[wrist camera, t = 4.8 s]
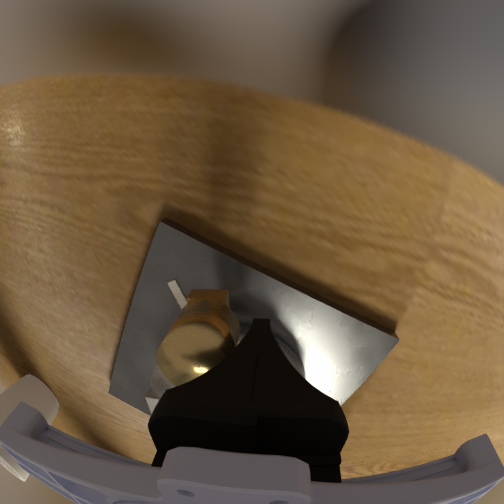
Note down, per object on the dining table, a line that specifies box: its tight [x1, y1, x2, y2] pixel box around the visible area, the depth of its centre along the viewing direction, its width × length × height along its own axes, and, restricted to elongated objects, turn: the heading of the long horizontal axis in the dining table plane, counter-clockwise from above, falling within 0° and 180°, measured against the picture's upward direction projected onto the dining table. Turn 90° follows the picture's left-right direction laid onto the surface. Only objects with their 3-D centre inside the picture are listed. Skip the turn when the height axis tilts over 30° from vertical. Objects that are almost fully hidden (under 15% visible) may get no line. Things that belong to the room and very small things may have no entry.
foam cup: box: [0, 374, 60, 482], centre depth 19 cm, size 10×9×13 cm
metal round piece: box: [145, 289, 306, 414], centre depth 15 cm, size 15×11×7 cm
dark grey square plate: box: [109, 218, 399, 415], centre depth 20 cm, size 18×18×1 cm
